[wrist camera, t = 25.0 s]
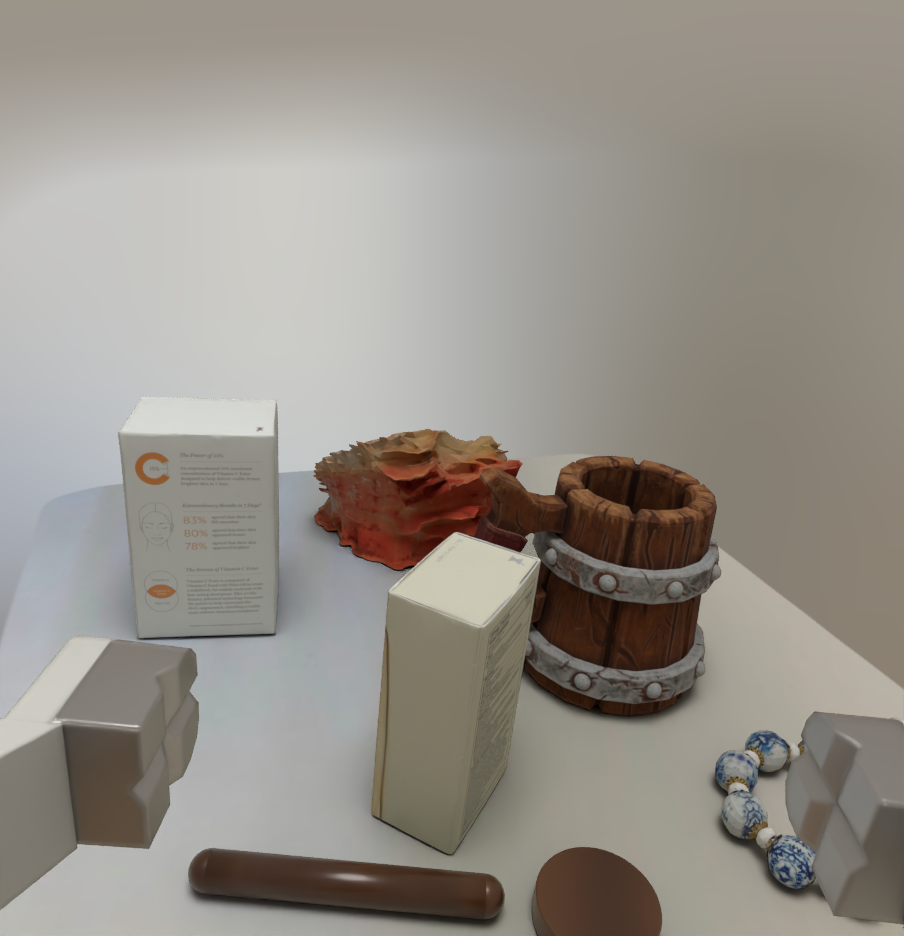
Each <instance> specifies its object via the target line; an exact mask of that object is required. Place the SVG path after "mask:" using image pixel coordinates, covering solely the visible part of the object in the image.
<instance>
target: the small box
mask: <svg viewBox="0 0 904 936" xmlns="http://www.w3.org/2000/svg"><path fill="white" fill-rule="evenodd" d="M118 437H119V445H120V454H121V463H122V474H123V486H124V497H125V508H126V519H127V530H128V540H129V553H130V564H131V576H132V587H133V597H134V608H135V619H136V628H137V634H138V637H139V638H152V637H180V636H209V635H239V634H273V633H275V631H276V616H277V600H278V586H279V485H278V417H277V401H276V400H246V399H245V400H244V399H207V398H164V397H142V398H141V399H140V401H139V402H138V404H137V406H136V407H135V409H134V410H133V412H132V413H131V415H130V416H129V418H128V419H127V421H126V422H125V424H124V425H123V427H122V428H121V429H120V431H119V432H118Z"/></svg>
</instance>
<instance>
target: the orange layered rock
mask: <svg viewBox="0 0 904 936" xmlns="http://www.w3.org/2000/svg"><path fill="white" fill-rule="evenodd" d="M357 445H358V446H354V445H349V446H350V447H351V448H352V449H351V450H350V451H343V450H341V451H339V452H334V453H330V455H331V456H328V457H324V458H323V460H322V461H321V462H319V463H316V466H315V468H316V469H317V470H314V472H315V473H316V474H317V475H313V476H314V477H316V479H318V480H319V481H321V482H323V483H319V484H321V485H325V486H326V487H327V488H326V489H323V488H319V490H320V491H322V492H326V493H328V494H329V498H328V500H327V501H326V503H325V504H324V505H323V506H322V507H320V508H319V512H318V513H317V514H316V515H315V516H314V517H315V520H316V522H317V524H318V525H322V526H324V528H325V529H326V530H327V531H331V530H338V534H339V536H340V538H341V540H340V542H339V543H340V544H341V545H352V551H353V554H355V555H357V556H360V557H363V558H365V559H367V560H370V561H380V562H382V563H384V564H386V565H388V566H389V567H391V568H393V569H395V570H397V569H403V568H405V567H407V566H411V565H412V566H416V565H417V564H418V563H419V562H420V561H421V560H422V559H423V558H424V557H426V556H427V555H428V554H429V553H430V552H431V551H433V550H434V549H435V548H436V547H437V546H438V545H440V544H441V543H442V542H443V541H444V540H446V539H447V538H448V537H450V536H451V535H452V534H453V533H455V532H459V533H462V534H465V535H468V536H471V537H474V535H475V532H476V530H477V527H478V524H479V521H480V519H481V516H482V514H484V515H488V513H489V511H490V509H491V492H490V491H489V489H488V488H487V487H486V486H485V484H484V483H483V482H482V480H481V479H480V474H481V473H483V472H485V471H486V470H488V469H489V468H493V467H496V468H498V469H500V470H502V471H504V472H506V473H508V474H510V475H512V476H514V477H515V478H516V476H517V473H518V471H519V468H520V467H521V465H522V464H523V463H521V462H520V461H519V460H509V461H507V457H506V456H505V454H504V453H506V452H508V451H503V452H500V451H502V450H499V449H498V447H499V446H500V445H501V444H497V443H496V442H495V441H494V439H493V438H492V437H491V436H481V437H479V438H478V439H477V440H475V441H472V440H471V441H463V440H459V439H456V438H455V437H453V436H451V435H450V434H449V433H448V432H446V431H432V430H430V429H425V430H420V431H415V432H403V433H398V434H393V435H391V436H389V437H388V438H384V437H383V438H382V437H380V439H377V440H372V441H368V442H366V443H362V442H358V441H357Z"/></svg>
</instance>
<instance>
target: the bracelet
mask: <svg viewBox="0 0 904 936" xmlns="http://www.w3.org/2000/svg"><path fill="white" fill-rule="evenodd" d="M807 750H808V749H807V747H806V745H805V743H804V740H802V741H801V742H800V743H799V744H798V746H797V745H796V744H795V743H791V742H788V743H786V741H785V740H783V739H782V738H780V737H779V736H778V735H777V734H775V733H773V732H771V731H767V730H760V731H757V732H755V733H753V734H751V735H750V736H749V738H748V740H747V741H746V744H745V751H744V752H743V753H742V752H739V751H727V752H726V753H724V754H722V755H721V757H720V758H719V759H718V761H717V763H716V768H715V776H716V778H717V781H718V784H719V785H720V786H721V787H722V788H723V789H725V790H726V791H728V795H729V796H727V797H726V798H725V800H724V802H723V804H722V810H721V816H722V819H723V822H724V824H725V826H726V828H727V829H728V830H729V832H730V833H731V834H733V835H734V836H736V837H738V838H740V839H747V840H748V839H756V842H757V844H758V845H759V846H760V847H761V848H763V849H768V851H767V857H768V865H769V869H770V871H771V873H772V874H773V876H774V877H775V878H776V879H777V880H778V881H779V882H781V883H782V884H784V885H786V886H788V887H790V888H794V889H801V888H804V887H807V886H808V885H809V884H811V883H813V881H814V880H815V879H816V877H815V875H814V872H813V870H812V868H811V866H812V863H813V861H814V858H815V855H816V853H815V852H814V851H813V850H812V849H811V848H809V847H808V846H807V845H806V844H805V843H804V842H802V841H801V840H800V839H799V838H797V837H795V836H788V835H787V836H783V837H782V835H779V836H777V835H776V832H774V831H773V830H772V829H771V828H768V824H767V818H768V815H767V812H766V809H765V807H764V805H763V803H762V802H761V801H760V799H759V798H758V797H756V796H754V795H753V794H751V793H749V792H751V790H752V789H753V788H754V786H755V785H756V783H757V777H758V769H759V770H761V771H764V772H773V771H775V770H778V769H780V768H782V766H783V765H784V763H785V762H787V761H793V760H794V759H796V758H797V757H798V756H800V755H801V754H803V753H804V752H805V751H807Z"/></svg>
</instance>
